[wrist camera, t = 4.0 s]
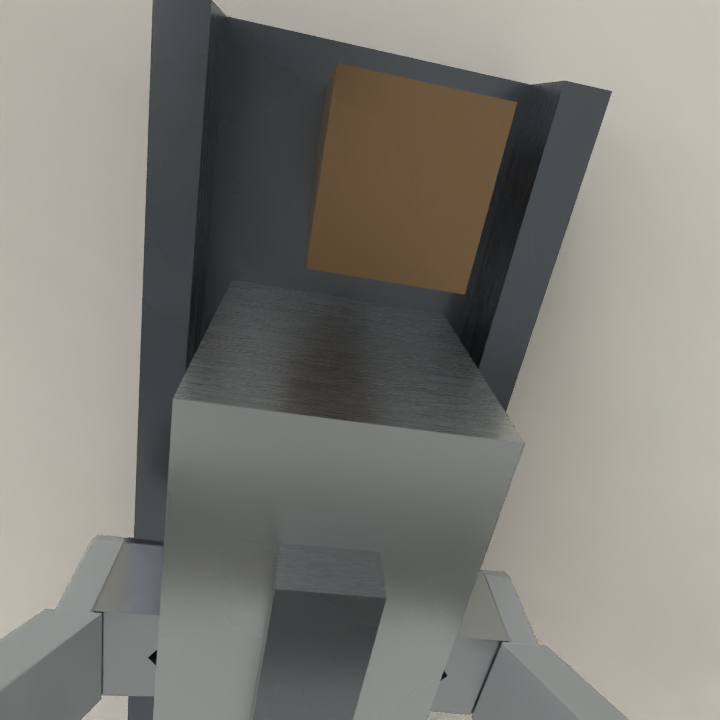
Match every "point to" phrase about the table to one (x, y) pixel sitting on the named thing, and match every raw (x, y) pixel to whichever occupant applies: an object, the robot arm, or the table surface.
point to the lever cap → (323, 510)
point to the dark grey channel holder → (341, 197)
